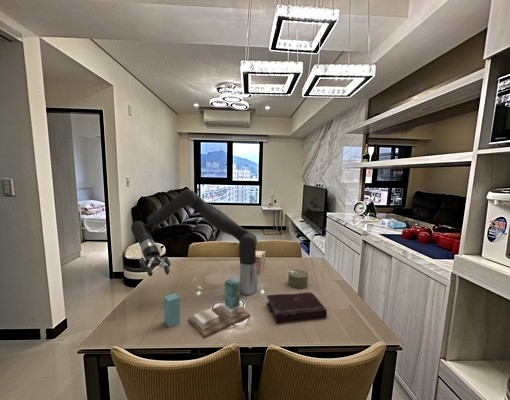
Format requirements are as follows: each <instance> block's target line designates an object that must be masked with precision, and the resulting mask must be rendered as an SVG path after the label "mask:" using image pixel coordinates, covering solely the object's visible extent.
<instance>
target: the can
mask: <svg viewBox="0 0 510 400" xmlns="http://www.w3.org/2000/svg"><path fill="white" fill-rule="evenodd" d="M287 274H288V279H287V280H288V281H287V282H288V283H287V284H288V286H289V287H291V288H295V289H305V288H307V287H308V283H309V281H308V280H309V279H308V277H309V273H308V272H307V271H305V270H301V269H292V270H291V269H290V270H288V272H287Z"/></svg>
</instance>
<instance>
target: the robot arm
mask: <svg viewBox="0 0 510 400" xmlns="http://www.w3.org/2000/svg"><path fill="white" fill-rule="evenodd" d="M186 207H188V208H191V209H192V210H194V211H196V212H197V213H198V214H200V215H201V216H202V218H203V219H205V221H206V222H207V223H209V224H210V225H211V226H212V227H214V228H215V229H216V230H218V231H220V232H223V233H225V234H227V235H230V236H231V237H233V238H234V239H236V240H237V241H238V243H239V244H238V258H239V281H240V293H241V294H242V295H244V296H245V295H247V296H249V295H253V294H255V293H256V291H258V274H256V251H257V248H256V246H257V243H258V238H257V236H256V235H255V234H254V233H253V232H251V231H249V230H248V229H245V228H243V227H242V226H241V225H239V224H238V223H237V222H235V221H234V220H233V219H231V218H230V217H229V216H228V215H227V214H226V213H223V212H222V211H221V210H219V209H218V208H217V207H215V206H213V205H212V204H209V203H207V202H206V200H204V198H201V197H200V196H199V195H198V194H197V193H196V191H193V190H191V189H184V190H182V191H181V192H180V193H178V195H176V196H175V198H173V199H172V200H171V201H169V202H168V203H167V204H165V205H164V206H163V207H161V208H159V209H158V210H156V211H154V213H152V214H150V215H149V216H148V217H147V218H146V221H147V224H145V223H144V222H143V221H141V220H135V221H134V222H133V223H132V224H131V228H130V230H131V233H132V235H133V236H134V237H135V239H136V240H137V242H138V244H139V247H140V250H141V253H142V256H143V257H142V256H141V257H140V259H139V260H138V261H139V266H140V268H141V269H140V270H141V271H144V270H145V271H146V273H147V275H148V276H149V277H152V276H153V274H154V272H153V270H152V267H159V268H162V269H163V270H164V272H165V274H166V276H167V275H169V273H170V272H171V270H170V266H171V265H172V264H171V262H170V259H169V258H168V256H166V255H165V256H164V257H162V256H161V253H160V250H159V248H158V246H157V244H156V242H155V241H154V239H153V236H152V234H151V233H152V232H153V231H154V230H156V228H157V227H158V226H160V225H161V224H162V223H164V222H166V220H168V219H169V218H170V217H172V216H173V215H174V214H175V213H176V212H177V211H180V210H181V209H183V208H186ZM146 263H147V265H146Z"/></svg>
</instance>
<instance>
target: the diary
mask: <svg viewBox="0 0 510 400" xmlns="http://www.w3.org/2000/svg"><path fill="white" fill-rule="evenodd" d="M266 298H267V299H268V302H267V303H265V304H266V306H267V308H268V309H269V312H270V313H271V314H273V316H274V318H275V324H279V323H281V324H282V323H288V322H297V321H306V320H314V319H323V318H324V319H325V318H327V316H328V315H327V314H328V312H327V311H328V310H327V308H326V307H325V306H324V305H323V303H322V302H321V301H320V299H318V298H317V297H316V296H315V294H314V293H312V292H311V291H310V292H300V293H299V292H298V293H283V294H282V293H281V294H280V293H279V294H278V293H277V294H268V295H266Z"/></svg>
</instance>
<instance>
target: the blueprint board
mask: <svg viewBox="0 0 510 400" xmlns="http://www.w3.org/2000/svg"><path fill="white" fill-rule="evenodd" d="M240 296H241V295H240V280H238V279H236V278H234V277H233V278H229V279H227V280H224V302H223V303H221V304H220V305H218V306H216V307H214V308H209V309H205V310H203V311H200V312H198V313H196V314H194V315H193V316H192V317H191V316H190V317H189V318H187V319H188V322H189V323H190V324H191V326H193V327H194V328H195V329H196V331H198V333H199V334H200V335H201V336H202V337H203V338H204V339H205V338H207V337H210V336H212V335H214V334H216V333H218V332H220V331H223V330H225V329H227V328H228V327H231V326H233V325H235V324H237V323H240V322H241V321H243V320H246V319H248V318H250V317H251V314H250V313H249V312H247V311H246V310H245V306H244V305H243V304H242V303H240V300H241V299H240Z"/></svg>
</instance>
